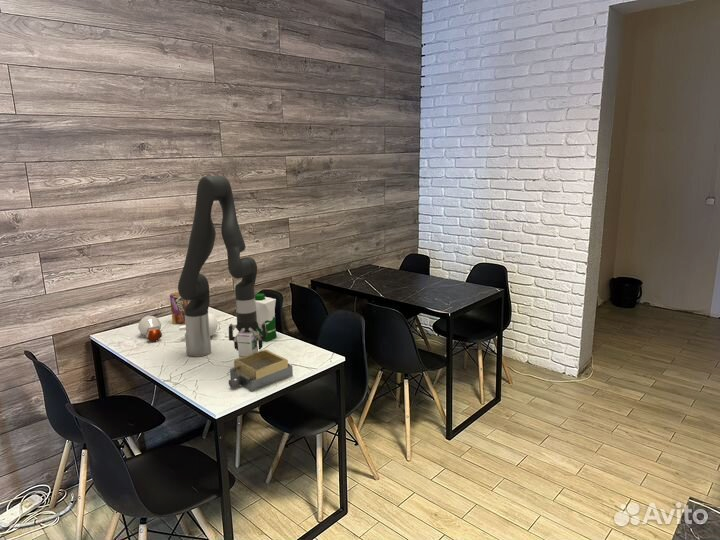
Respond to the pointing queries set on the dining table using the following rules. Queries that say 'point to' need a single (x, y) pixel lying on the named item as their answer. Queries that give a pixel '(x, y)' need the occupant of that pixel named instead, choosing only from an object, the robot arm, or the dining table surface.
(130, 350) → the dining table surface
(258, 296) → the milk carton
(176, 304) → the candy box
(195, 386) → the dining table surface
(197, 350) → the robot arm
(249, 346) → the syrup box
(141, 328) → the potion bottle
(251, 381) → the wooden drawer tray
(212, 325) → the piggy bank
